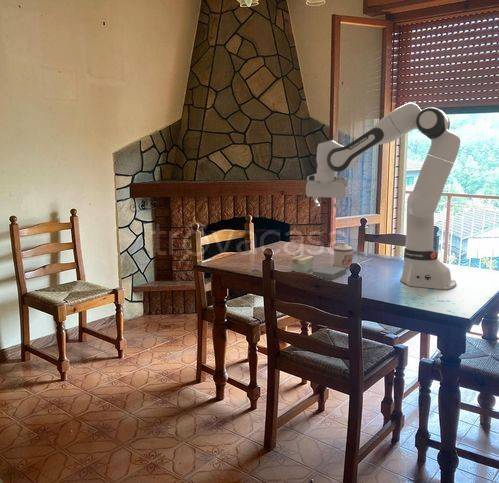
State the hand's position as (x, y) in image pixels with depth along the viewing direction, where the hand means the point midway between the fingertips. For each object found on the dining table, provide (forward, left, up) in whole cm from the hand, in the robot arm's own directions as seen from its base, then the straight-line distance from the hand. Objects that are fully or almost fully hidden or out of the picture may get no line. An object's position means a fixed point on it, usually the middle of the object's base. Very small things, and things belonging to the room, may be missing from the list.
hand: (326, 207), depth 240 cm
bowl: (+8, +9, -30) cm, 32 cm away
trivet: (-6, +9, -30) cm, 31 cm away
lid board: (+8, +9, -25) cm, 28 cm away
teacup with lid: (-4, -11, -30) cm, 32 cm away
